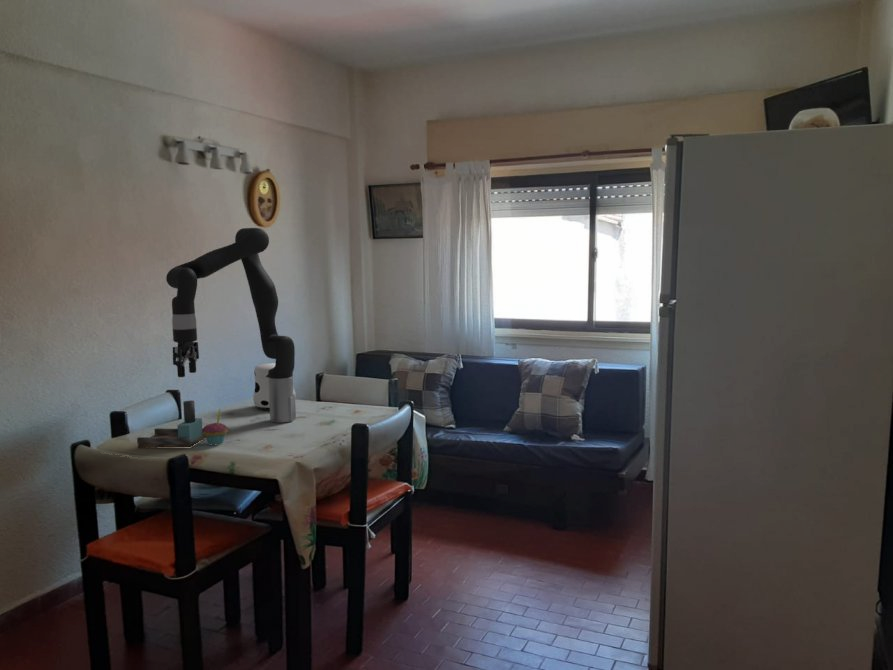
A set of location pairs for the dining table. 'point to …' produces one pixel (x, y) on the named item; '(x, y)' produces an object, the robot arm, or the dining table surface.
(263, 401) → the milk container
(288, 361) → the robot arm
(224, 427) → the cupcake
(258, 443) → the dining table surface
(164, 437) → the press base
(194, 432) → the press jaw
